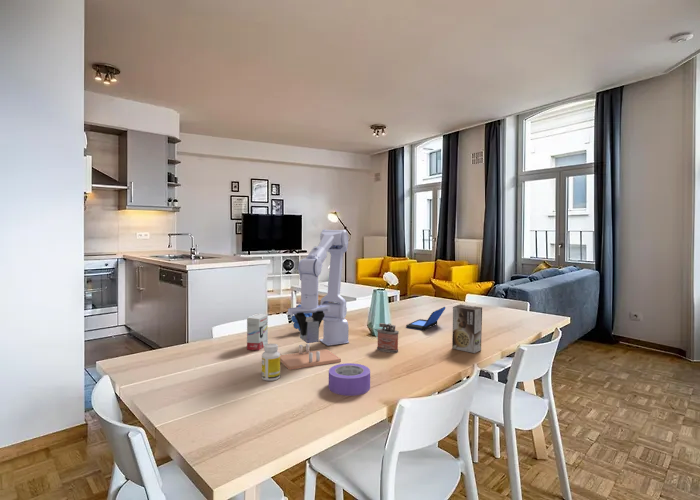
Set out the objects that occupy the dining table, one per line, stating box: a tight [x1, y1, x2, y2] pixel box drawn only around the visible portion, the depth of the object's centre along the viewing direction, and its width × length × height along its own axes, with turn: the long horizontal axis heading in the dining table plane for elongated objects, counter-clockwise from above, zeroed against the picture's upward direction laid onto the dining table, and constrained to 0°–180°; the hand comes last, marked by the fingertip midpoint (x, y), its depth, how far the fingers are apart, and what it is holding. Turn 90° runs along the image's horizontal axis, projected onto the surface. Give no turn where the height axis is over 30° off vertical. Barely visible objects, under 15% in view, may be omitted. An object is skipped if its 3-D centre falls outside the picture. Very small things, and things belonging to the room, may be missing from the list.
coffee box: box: [451, 304, 483, 354], centre depth 149 cm, size 9×6×16 cm
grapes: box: [291, 304, 313, 332], centre depth 170 cm, size 12×7×12 cm, turn 139°
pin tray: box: [280, 343, 342, 371], centre depth 134 cm, size 18×12×4 cm, turn 117°
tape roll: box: [328, 362, 371, 397], centre depth 112 cm, size 12×12×5 cm
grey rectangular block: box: [299, 316, 320, 344], centre depth 134 cm, size 4×7×7 cm, turn 27°
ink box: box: [246, 313, 269, 351], centre depth 148 cm, size 9×5×12 cm, turn 168°
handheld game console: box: [405, 306, 446, 331], centre depth 183 cm, size 16×13×9 cm
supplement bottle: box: [261, 343, 281, 382], centre depth 118 cm, size 5×5×10 cm
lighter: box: [376, 322, 400, 354], centre depth 146 cm, size 8×3×10 cm, turn 65°
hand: (309, 334), depth 134 cm, fingers closed on grey rectangular block, 4 cm apart
